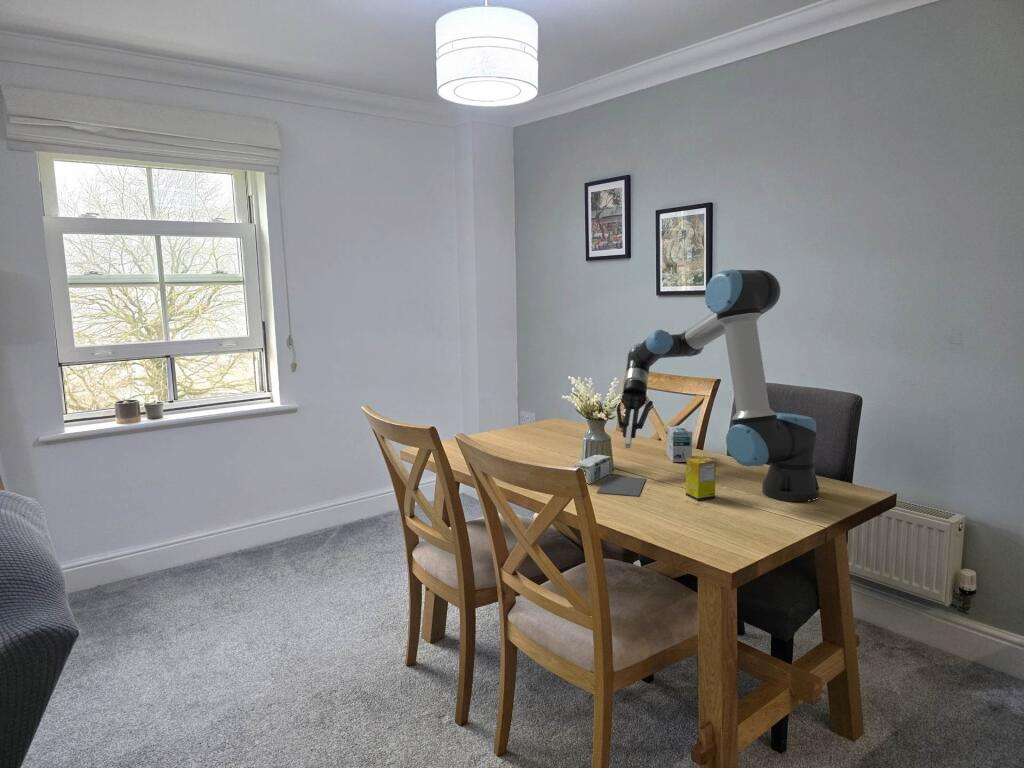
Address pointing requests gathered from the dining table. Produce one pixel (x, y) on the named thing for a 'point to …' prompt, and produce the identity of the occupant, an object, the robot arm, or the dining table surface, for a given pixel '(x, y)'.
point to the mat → (622, 486)
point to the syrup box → (595, 467)
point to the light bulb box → (679, 443)
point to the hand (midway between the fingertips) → (627, 445)
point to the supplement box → (700, 478)
